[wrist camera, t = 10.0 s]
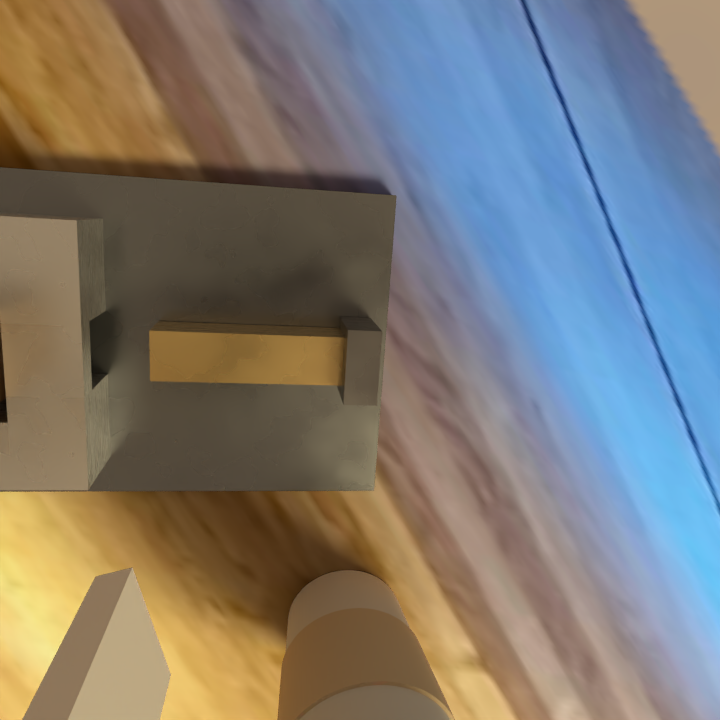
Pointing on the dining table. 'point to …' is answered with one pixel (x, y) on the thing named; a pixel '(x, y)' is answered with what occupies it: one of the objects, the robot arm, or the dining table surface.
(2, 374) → the peg
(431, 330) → the dining table surface
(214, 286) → the dock
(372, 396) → the pin
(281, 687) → the coffee cup
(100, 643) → the robot arm
